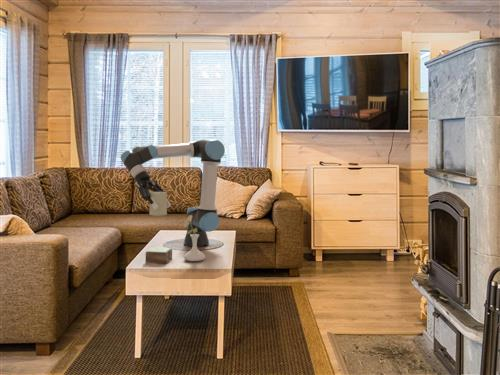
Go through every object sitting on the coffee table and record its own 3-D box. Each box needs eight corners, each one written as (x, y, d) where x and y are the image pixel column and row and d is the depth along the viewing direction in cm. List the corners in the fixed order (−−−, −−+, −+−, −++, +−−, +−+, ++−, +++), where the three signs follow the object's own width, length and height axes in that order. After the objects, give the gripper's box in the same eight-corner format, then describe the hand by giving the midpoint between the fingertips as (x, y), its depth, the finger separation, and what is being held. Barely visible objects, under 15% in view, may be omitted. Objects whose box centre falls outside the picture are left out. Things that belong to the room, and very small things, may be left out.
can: (158, 216, 256) (158, 192, 255) (145, 214, 261) (145, 191, 260) (170, 214, 263) (170, 191, 262) (157, 212, 268) (157, 190, 267)
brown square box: (152, 258, 270) (152, 247, 269) (172, 259, 269) (172, 247, 268) (145, 263, 259) (145, 251, 259) (166, 264, 258) (166, 252, 257)
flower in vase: (194, 256, 274) (194, 211, 272) (209, 260, 267) (210, 214, 265) (177, 261, 264) (177, 214, 262) (192, 264, 257) (192, 216, 255)
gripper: (150, 178, 278) (172, 209, 271) (121, 181, 259) (144, 214, 252) (157, 169, 274) (180, 200, 267) (129, 171, 256) (152, 204, 249)
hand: (163, 207), depth 260 cm, fingers closed on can, 9 cm apart
